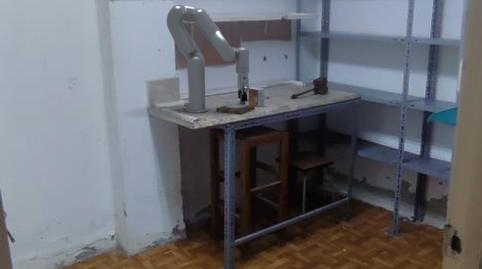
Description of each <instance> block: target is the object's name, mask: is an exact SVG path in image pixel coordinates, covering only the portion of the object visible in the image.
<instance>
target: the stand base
mask: <svg viewBox="0 0 482 269" xmlns="http://www.w3.org/2000/svg"><path fill="white" fill-rule="evenodd" d="M255 109H256V107H255V106H251V105H249V104H246V108H242V109H229V108H226V107H225V105H222V106H219V107H216V112H217V113H226V114H232V115H233V114H234V115H241V114H242V115H244V114H246V112H247V113H249V112H251V110H252V111H255ZM248 111H249V112H248ZM243 113H244V114H243Z"/></svg>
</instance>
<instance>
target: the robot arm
mask: <svg viewBox="0 0 482 269" xmlns="http://www.w3.org/2000/svg"><path fill="white" fill-rule="evenodd" d="M183 22H188V23H194V24H195V25H196V27H197V28H198V29H199V31H201V33H202V34H203V36H204V37H205V38H206V40H207V41H208V42H209V43H210V44H211V45H212V46H213V48H214V49H215V50H216V51H217V53H218V54H219V56H220V57H221V58H222V60H224V61H225V62H227V63H231V62H234V61H235V73H236V74H237V95H238V96H237V97H238V99H240V93H242V94H241V101H242V102H243V101H245V102H248V91H249V88H250V87H249V86H250V84H249V73H250V50H249V47H246V46H245V47H243V46H241V47H233V46H231V45H230V44H229V42H228V41H227V39H226V38H225V37H224V35H223V33H222V32H221V29H220V28H219V27H218V25H217V24H216V23H215V22H214V21H213V19H212V18H211V17H210V15H209V13H207V11H206V10H205V9H204V8H200V7H193V6H189V5H188V6H187V5H183V4H175V5H173V6H172V7H171V8H170V10H169V12H168V14H167V15H166V26H167V30H168V31H169V33H170V35H171V37H172V39H173V42H175V45H176V47H177V49H178V51H179V53H181V54H182V55H183V57H184V58H185V61H186V62H187V64H186V65H187V66H186V68H187V87H188V90H187V91H188V92H187V93H188V102H184V103H183V107H187V108H186V112H187V113H193V114H198V113H199V114H201V113H207V112H209V107H206V103H207V102H206V72H205V71H206V68H205V67H206V61H205V60H206V59H205V57H204V55H203V53H202V52H201V50H200V48H199V47H198V44H197V43H196V41H195V39H193V38H192V37H190V34H189V33H188V31H187V29H186V27H185V25H184V23H183Z"/></svg>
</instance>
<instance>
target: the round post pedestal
mask: <svg viewBox="0 0 482 269" xmlns="http://www.w3.org/2000/svg"><path fill="white" fill-rule="evenodd" d="M241 94H242V93H240V98H239V101H233V102H226V103H225V104H224V106H225V107H226V108H229V109H242V108H246V105H247V103H246V101H243V102H242V101H241Z"/></svg>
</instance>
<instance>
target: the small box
mask: <svg viewBox="0 0 482 269" xmlns="http://www.w3.org/2000/svg"><path fill="white" fill-rule="evenodd" d="M248 105H251V106H255V108H262V107H264V106H265V88H260V87H249V90H248Z"/></svg>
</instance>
